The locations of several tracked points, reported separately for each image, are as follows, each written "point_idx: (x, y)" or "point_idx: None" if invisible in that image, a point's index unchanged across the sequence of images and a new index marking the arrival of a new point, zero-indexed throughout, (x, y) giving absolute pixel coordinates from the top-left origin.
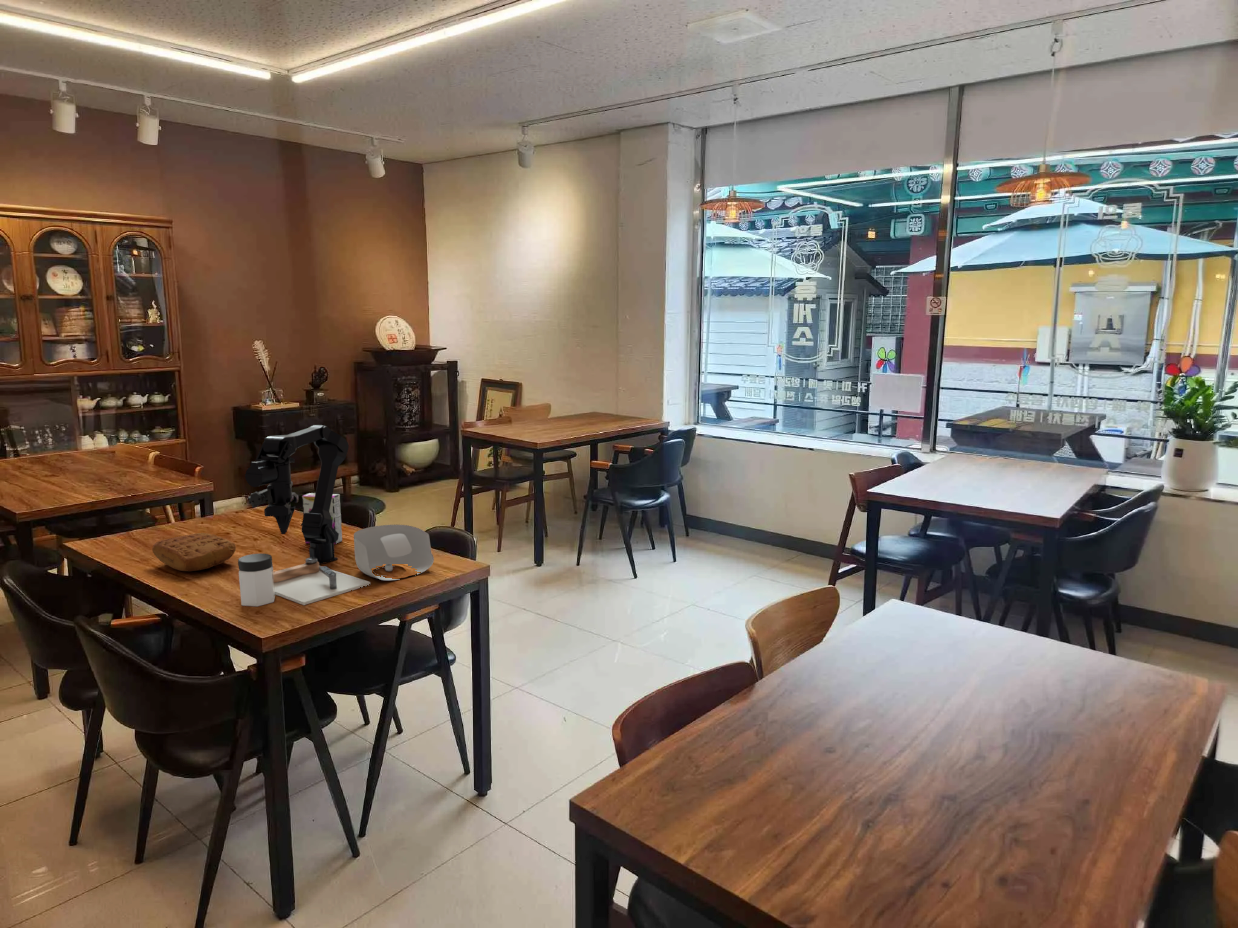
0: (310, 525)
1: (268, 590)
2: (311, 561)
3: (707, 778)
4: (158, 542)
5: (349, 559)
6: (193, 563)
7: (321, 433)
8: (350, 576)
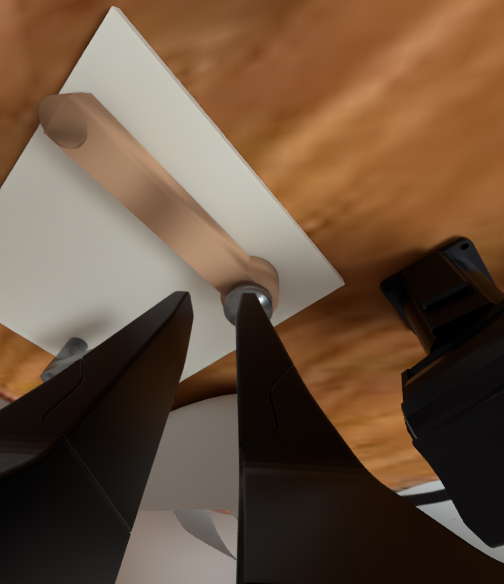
0: (473, 415)
1: None
2: (224, 310)
3: None
4: None
5: (401, 358)
6: None
7: None
8: (187, 373)
